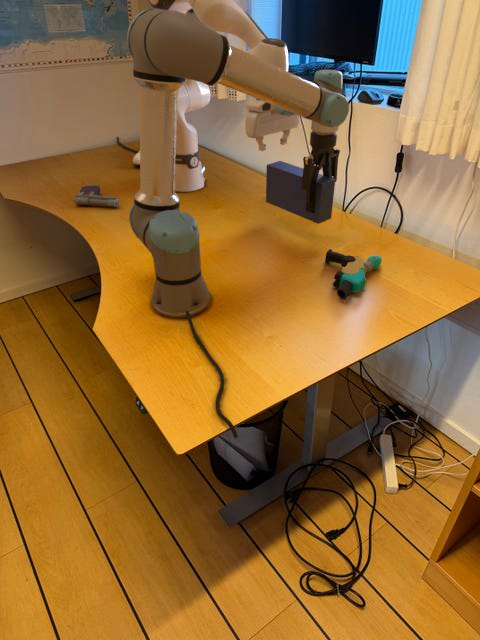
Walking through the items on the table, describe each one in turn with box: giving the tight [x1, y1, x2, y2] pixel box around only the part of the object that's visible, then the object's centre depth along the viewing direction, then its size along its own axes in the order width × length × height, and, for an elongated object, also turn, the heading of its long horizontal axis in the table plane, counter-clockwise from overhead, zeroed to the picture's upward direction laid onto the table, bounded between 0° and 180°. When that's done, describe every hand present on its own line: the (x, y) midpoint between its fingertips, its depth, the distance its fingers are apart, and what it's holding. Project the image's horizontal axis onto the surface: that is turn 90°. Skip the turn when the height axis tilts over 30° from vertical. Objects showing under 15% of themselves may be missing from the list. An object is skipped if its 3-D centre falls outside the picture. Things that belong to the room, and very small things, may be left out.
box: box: [265, 160, 336, 225], centre depth 152 cm, size 24×6×13 cm, turn 41°
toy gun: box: [73, 184, 120, 208], centre depth 181 cm, size 4×19×15 cm
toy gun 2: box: [324, 248, 383, 301], centre depth 133 cm, size 4×26×15 cm
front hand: (317, 208), depth 148 cm, fingers closed on box, 6 cm apart
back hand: (273, 147), depth 152 cm, fingers open, 8 cm apart
